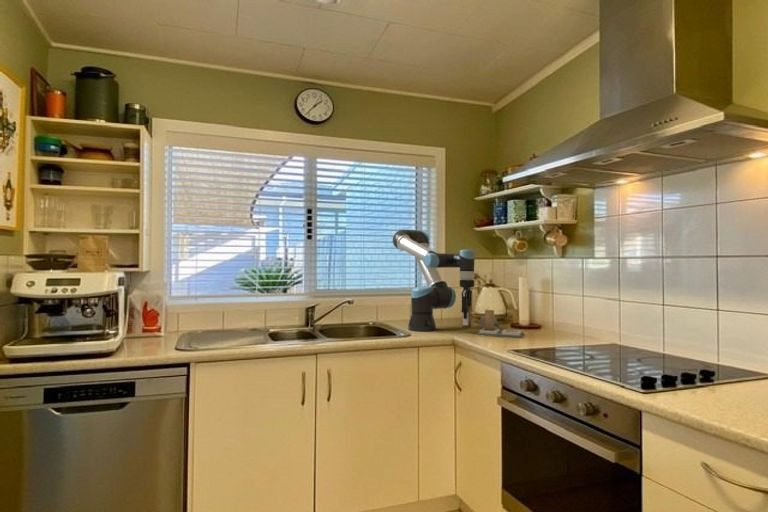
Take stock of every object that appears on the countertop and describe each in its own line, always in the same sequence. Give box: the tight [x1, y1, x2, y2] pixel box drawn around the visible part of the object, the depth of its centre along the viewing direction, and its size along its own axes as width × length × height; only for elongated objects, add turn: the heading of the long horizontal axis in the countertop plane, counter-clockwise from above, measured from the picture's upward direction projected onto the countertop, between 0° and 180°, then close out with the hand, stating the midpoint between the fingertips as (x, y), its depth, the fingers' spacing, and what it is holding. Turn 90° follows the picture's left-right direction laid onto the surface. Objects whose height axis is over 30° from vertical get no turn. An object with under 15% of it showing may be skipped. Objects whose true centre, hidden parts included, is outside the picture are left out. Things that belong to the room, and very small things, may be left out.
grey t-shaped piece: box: [476, 309, 525, 339], centre depth 221 cm, size 21×12×12 cm, turn 66°
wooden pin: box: [461, 306, 472, 329], centre depth 228 cm, size 4×4×11 cm
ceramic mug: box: [478, 315, 501, 330], centre depth 241 cm, size 11×8×8 cm
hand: (466, 324), depth 228 cm, fingers closed on wooden pin, 4 cm apart
